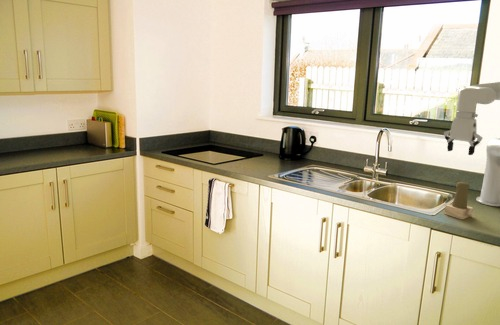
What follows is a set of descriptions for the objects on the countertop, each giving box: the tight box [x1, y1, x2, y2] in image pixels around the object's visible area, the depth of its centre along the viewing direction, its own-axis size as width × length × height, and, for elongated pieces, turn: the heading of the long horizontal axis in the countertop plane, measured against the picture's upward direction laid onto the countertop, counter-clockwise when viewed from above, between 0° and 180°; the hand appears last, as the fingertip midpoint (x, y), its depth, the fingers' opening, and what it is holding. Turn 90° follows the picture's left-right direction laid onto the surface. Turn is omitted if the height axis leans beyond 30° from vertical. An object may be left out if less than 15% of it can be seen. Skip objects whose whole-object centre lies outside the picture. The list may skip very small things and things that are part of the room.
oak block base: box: [443, 203, 474, 220], centre depth 186 cm, size 8×8×4 cm
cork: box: [451, 181, 471, 209], centre depth 184 cm, size 6×6×11 cm
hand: (460, 152), depth 193 cm, fingers open, 9 cm apart
